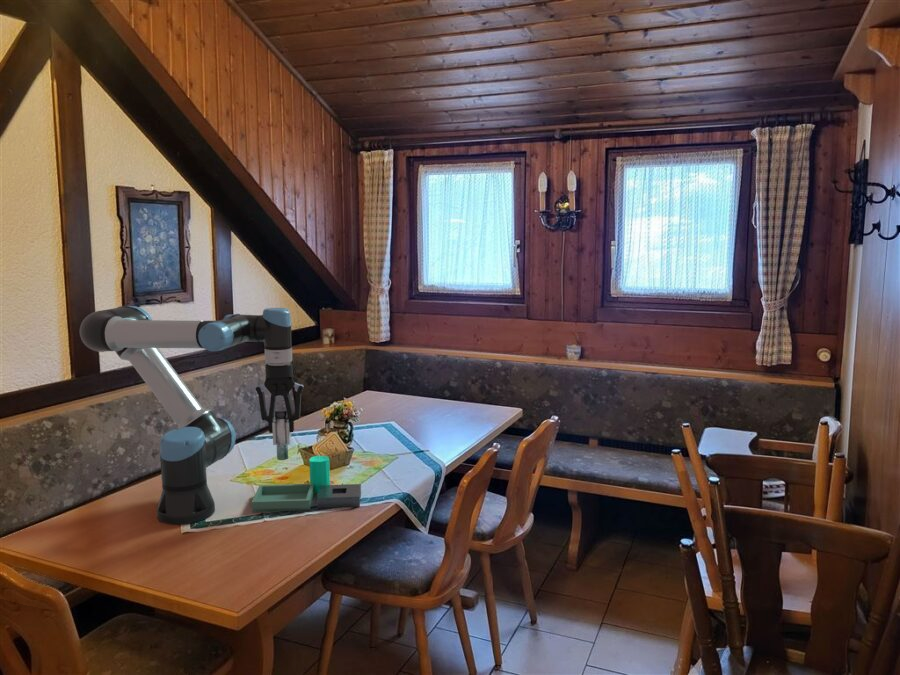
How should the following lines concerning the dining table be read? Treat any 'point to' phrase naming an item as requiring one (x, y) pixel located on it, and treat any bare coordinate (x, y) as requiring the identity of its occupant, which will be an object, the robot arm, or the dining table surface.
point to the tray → (283, 498)
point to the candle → (319, 472)
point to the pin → (281, 434)
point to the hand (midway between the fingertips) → (282, 443)
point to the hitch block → (339, 496)
